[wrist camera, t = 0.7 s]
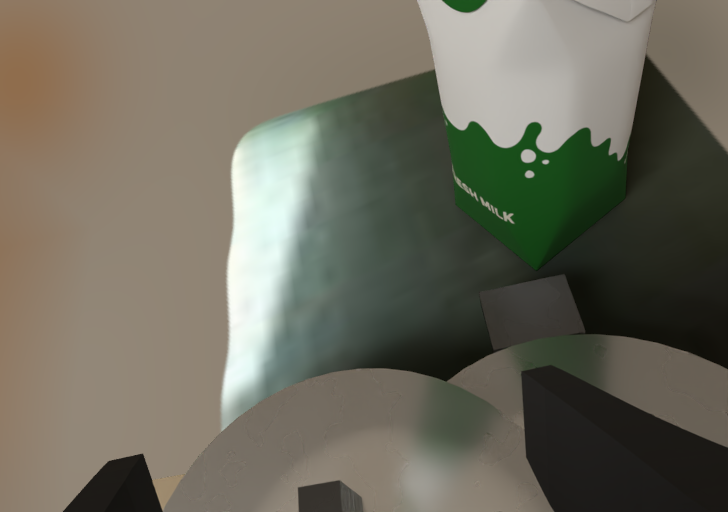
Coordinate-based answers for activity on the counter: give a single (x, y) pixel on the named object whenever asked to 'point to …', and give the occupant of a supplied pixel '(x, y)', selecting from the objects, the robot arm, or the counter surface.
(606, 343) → the cooker pot
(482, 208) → the milk carton
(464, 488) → the cooker lid
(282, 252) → the counter surface
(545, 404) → the robot arm
